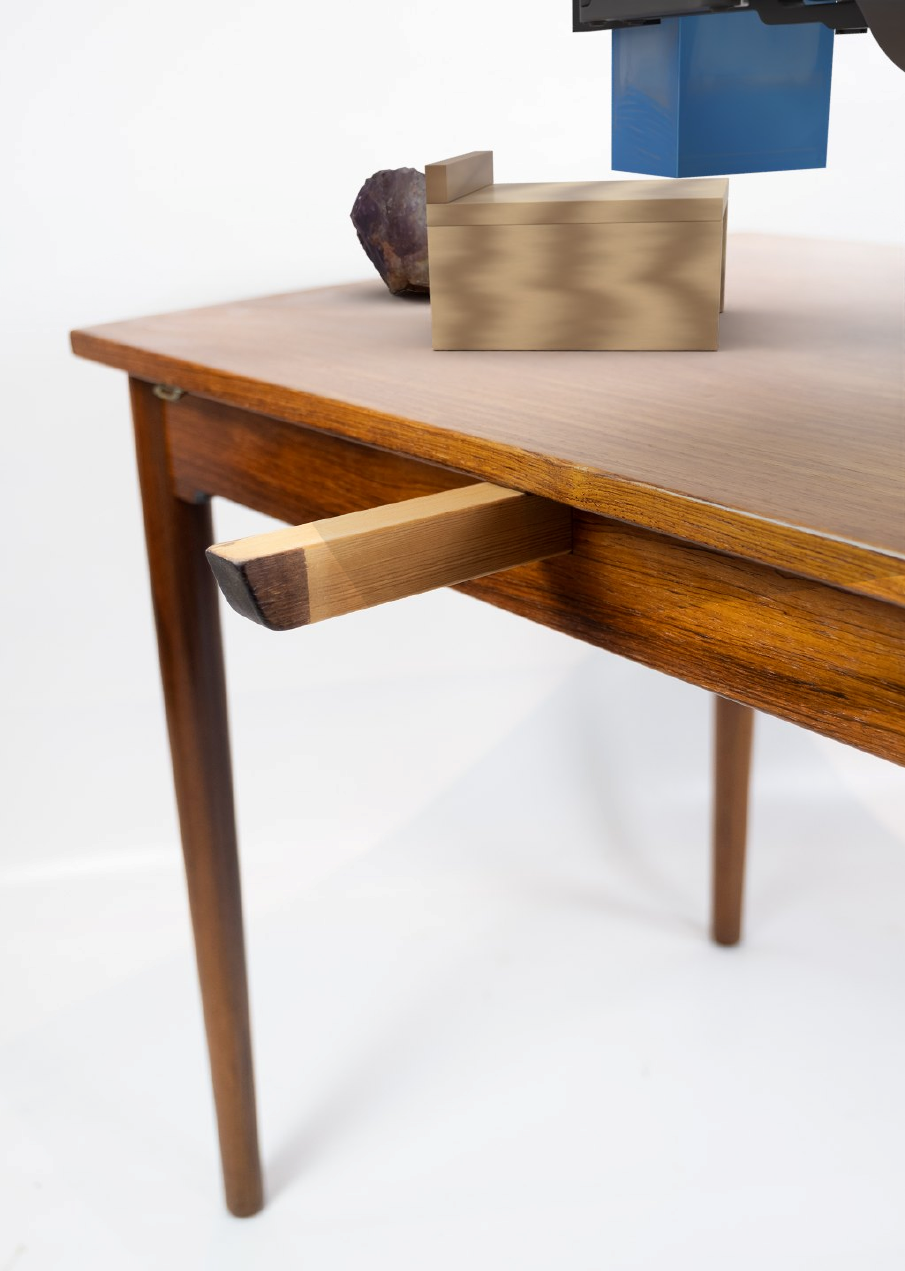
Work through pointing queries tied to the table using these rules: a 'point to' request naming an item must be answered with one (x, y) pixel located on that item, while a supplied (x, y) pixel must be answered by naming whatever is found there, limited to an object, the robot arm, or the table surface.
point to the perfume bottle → (720, 96)
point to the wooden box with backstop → (573, 261)
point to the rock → (395, 227)
